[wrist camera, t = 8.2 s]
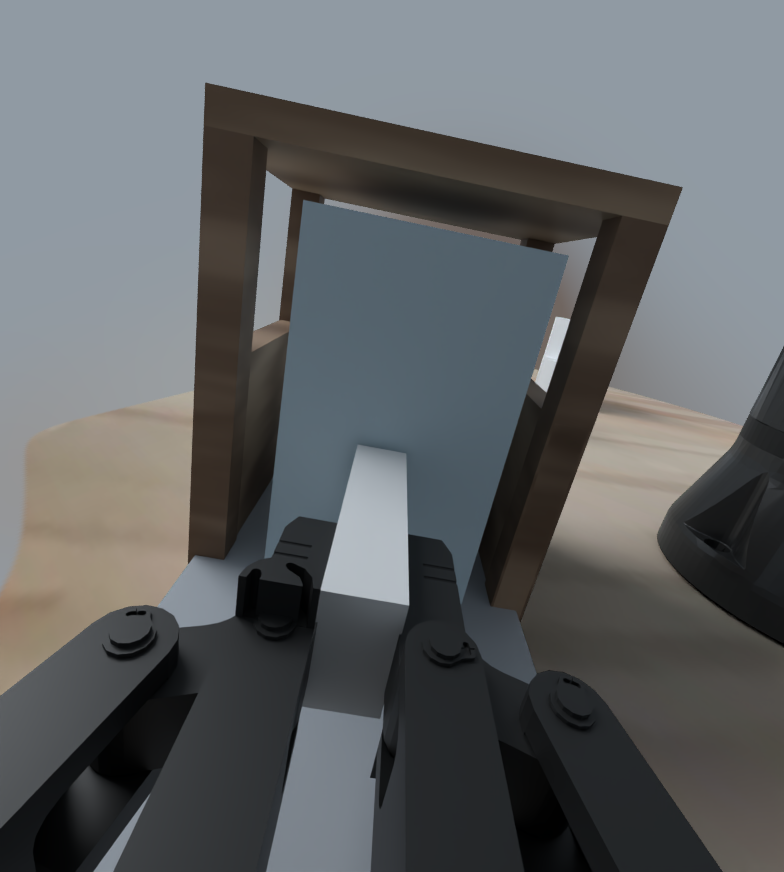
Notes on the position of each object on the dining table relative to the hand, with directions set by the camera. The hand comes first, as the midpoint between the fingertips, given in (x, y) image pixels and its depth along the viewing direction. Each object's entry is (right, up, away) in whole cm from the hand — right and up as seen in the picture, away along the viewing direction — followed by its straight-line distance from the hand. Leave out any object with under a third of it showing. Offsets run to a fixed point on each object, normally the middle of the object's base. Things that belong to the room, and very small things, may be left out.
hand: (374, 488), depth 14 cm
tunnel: (-1, -4, +10) cm, 11 cm away
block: (-1, -2, +9) cm, 9 cm away
